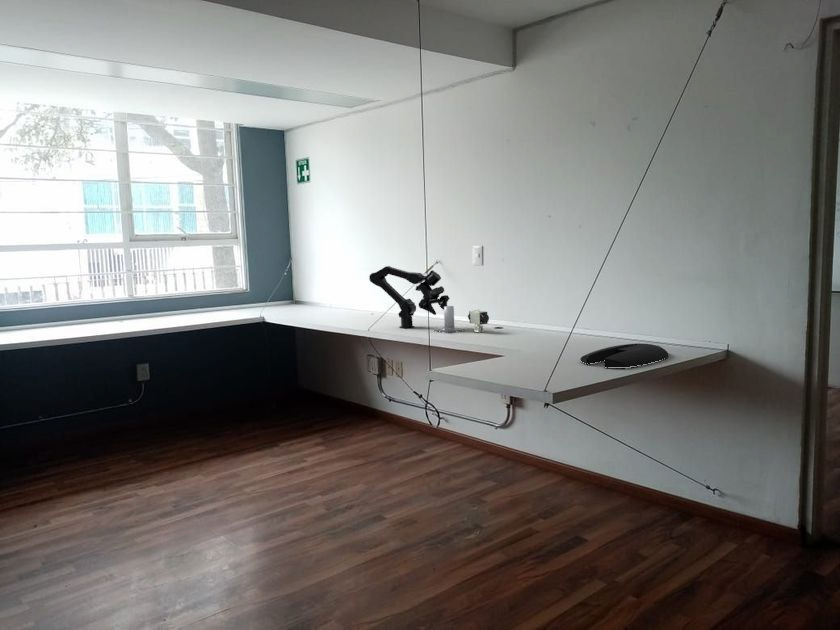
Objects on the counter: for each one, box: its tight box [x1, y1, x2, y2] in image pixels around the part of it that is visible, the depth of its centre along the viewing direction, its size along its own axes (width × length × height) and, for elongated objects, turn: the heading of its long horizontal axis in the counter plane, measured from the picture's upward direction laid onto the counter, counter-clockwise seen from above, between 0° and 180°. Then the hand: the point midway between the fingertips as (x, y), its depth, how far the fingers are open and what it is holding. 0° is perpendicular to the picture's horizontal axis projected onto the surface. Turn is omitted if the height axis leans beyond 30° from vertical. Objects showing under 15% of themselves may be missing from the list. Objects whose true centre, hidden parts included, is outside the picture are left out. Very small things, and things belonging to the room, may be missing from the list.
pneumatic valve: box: [467, 308, 490, 333], centre depth 351 cm, size 6×12×12 cm, turn 35°
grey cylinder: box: [443, 305, 456, 330], centre depth 359 cm, size 6×6×12 cm
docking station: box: [579, 342, 669, 368], centre depth 271 cm, size 25×41×5 cm, turn 129°
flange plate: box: [433, 327, 466, 334], centre depth 360 cm, size 12×12×1 cm
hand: (441, 313), depth 362 cm, fingers open, 9 cm apart
